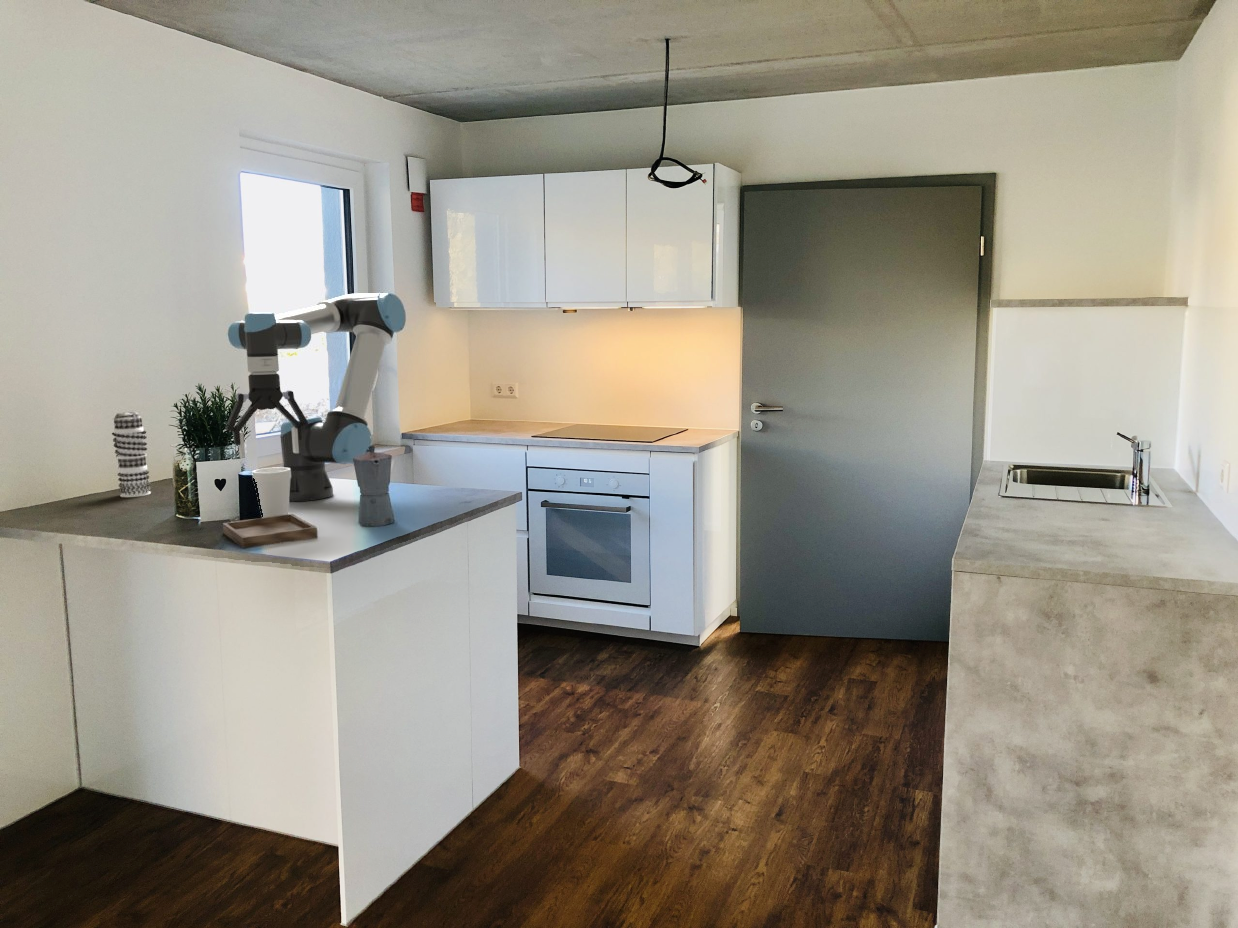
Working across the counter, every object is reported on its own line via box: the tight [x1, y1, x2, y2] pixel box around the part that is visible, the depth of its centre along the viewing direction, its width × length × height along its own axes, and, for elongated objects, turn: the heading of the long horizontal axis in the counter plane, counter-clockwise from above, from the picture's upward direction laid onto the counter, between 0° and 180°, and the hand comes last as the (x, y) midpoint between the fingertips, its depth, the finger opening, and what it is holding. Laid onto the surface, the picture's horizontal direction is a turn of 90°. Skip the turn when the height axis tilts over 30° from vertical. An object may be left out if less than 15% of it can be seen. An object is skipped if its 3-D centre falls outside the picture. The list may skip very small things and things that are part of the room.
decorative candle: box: [111, 411, 152, 498], centre depth 289 cm, size 9×9×25 cm
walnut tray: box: [222, 513, 318, 549], centre depth 233 cm, size 17×20×2 cm
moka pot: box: [353, 445, 395, 527], centre depth 243 cm, size 10×15×20 cm, turn 28°
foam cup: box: [251, 466, 291, 518], centre depth 251 cm, size 10×9×13 cm
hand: (269, 455), depth 249 cm, fingers open, 13 cm apart
